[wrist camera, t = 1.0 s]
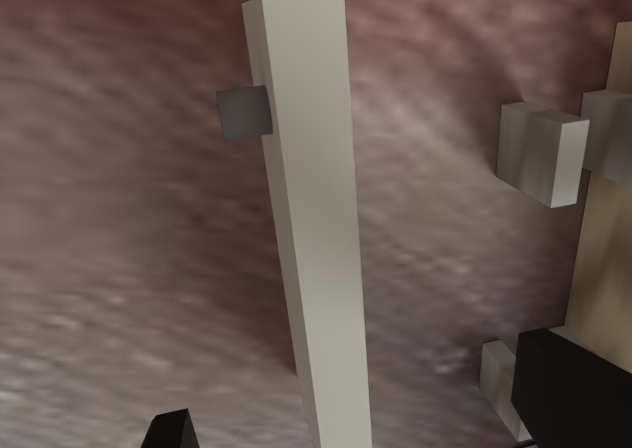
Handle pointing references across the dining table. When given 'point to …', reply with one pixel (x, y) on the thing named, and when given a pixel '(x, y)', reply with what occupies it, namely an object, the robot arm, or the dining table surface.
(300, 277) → the door
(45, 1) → the dining table surface
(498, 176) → the cabinet
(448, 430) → the dining table surface
